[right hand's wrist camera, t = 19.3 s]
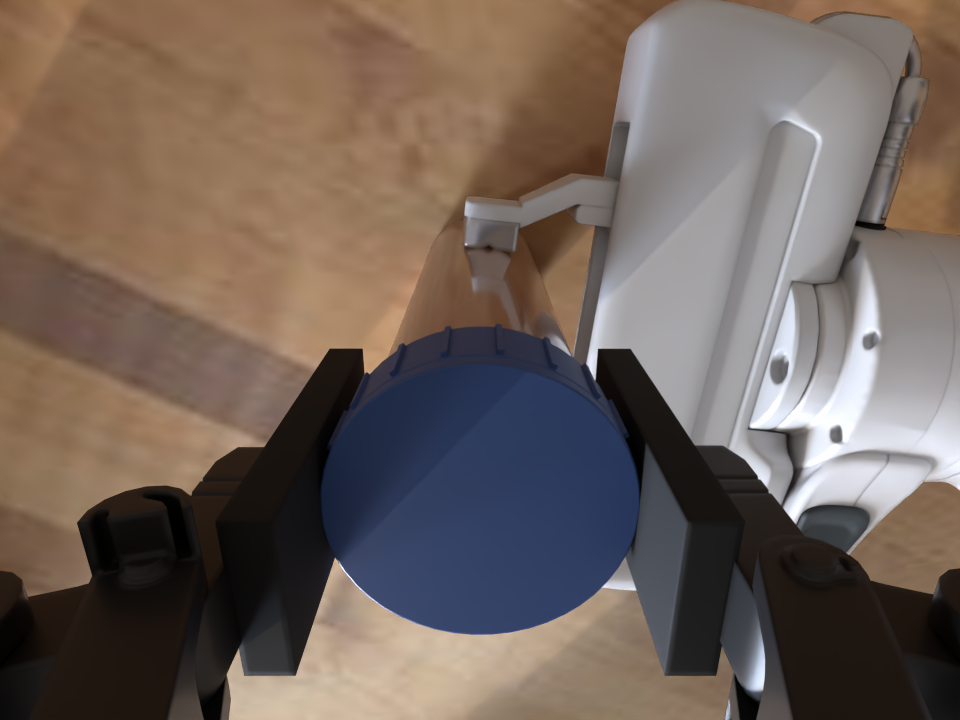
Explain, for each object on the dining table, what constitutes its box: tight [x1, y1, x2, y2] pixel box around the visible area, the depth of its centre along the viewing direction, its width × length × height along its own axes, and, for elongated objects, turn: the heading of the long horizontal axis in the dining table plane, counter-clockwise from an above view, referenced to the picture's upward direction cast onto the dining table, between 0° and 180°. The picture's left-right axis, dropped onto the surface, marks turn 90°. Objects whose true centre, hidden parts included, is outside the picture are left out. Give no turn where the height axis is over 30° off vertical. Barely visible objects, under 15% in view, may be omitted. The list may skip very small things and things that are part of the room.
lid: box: [320, 324, 640, 635], centre depth 11 cm, size 6×6×2 cm
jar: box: [388, 219, 572, 357], centre depth 19 cm, size 5×5×18 cm
